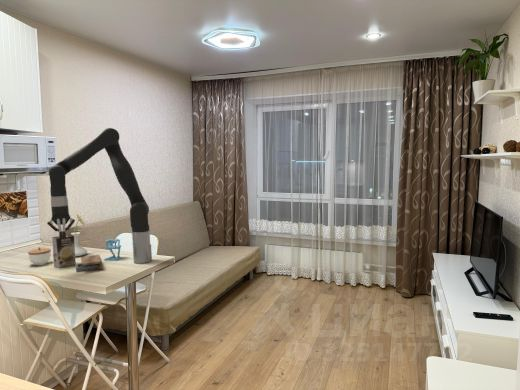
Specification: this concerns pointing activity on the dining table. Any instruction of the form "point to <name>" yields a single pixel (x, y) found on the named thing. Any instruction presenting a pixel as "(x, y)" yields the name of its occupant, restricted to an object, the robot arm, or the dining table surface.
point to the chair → (113, 248)
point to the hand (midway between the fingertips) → (62, 238)
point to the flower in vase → (78, 248)
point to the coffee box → (63, 251)
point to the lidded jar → (40, 256)
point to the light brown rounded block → (92, 261)
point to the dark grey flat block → (85, 267)
